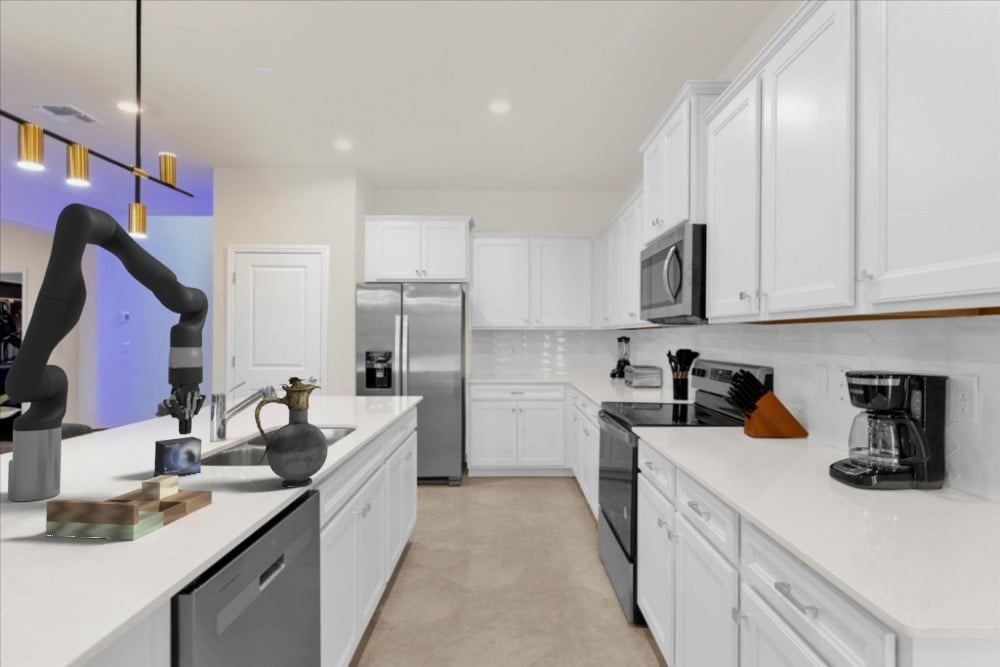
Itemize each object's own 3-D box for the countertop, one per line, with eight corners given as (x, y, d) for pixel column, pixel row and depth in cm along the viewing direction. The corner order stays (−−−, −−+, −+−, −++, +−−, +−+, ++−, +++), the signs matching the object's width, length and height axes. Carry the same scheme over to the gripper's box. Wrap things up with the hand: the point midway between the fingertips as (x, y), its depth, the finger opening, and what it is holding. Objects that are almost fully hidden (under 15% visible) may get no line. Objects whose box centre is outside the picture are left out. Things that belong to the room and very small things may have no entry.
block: (141, 499, 120) (141, 481, 120) (160, 491, 126) (161, 475, 126) (159, 499, 120) (160, 482, 120) (178, 492, 126) (178, 475, 126)
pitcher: (331, 484, 145) (333, 376, 145) (257, 495, 134) (259, 378, 134) (320, 475, 154) (321, 374, 154) (249, 485, 143) (251, 376, 143)
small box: (162, 480, 147) (162, 443, 147) (153, 477, 151) (153, 441, 151) (201, 473, 155) (202, 438, 156) (192, 470, 159) (192, 436, 160)
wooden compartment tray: (45, 536, 105) (46, 501, 105) (139, 500, 129) (139, 472, 129) (133, 540, 103) (134, 504, 103) (211, 503, 127) (212, 474, 127)
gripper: (190, 364, 138) (189, 429, 138) (152, 366, 125) (151, 438, 125) (216, 364, 138) (215, 429, 137) (181, 366, 124) (180, 439, 124)
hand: (185, 433), depth 131 cm, fingers closed
